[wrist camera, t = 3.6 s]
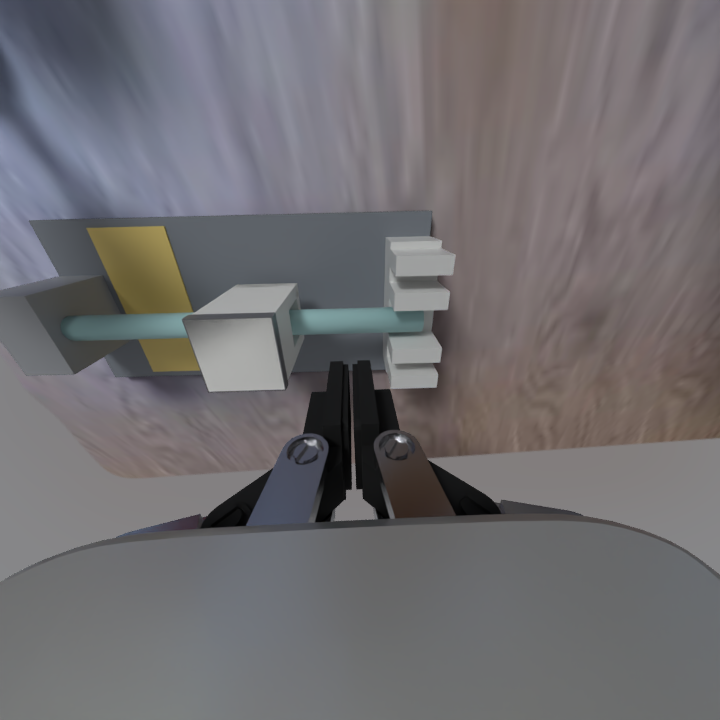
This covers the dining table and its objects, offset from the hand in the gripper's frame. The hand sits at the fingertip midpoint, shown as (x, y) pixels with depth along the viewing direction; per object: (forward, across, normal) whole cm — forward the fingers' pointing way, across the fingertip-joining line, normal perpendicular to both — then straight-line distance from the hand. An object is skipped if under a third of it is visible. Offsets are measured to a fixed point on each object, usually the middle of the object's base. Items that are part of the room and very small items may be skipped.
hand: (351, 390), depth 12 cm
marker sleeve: (+9, +5, -1) cm, 10 cm away
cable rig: (+11, +7, -1) cm, 14 cm away
